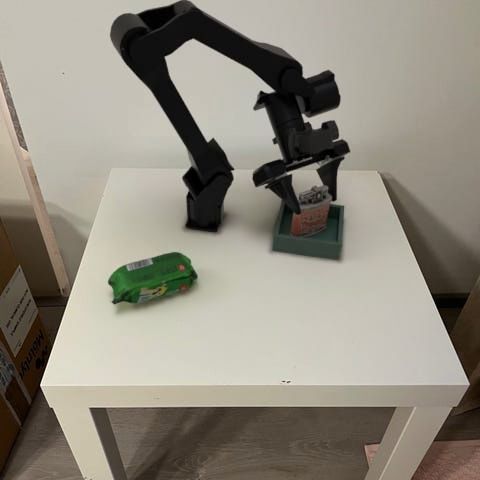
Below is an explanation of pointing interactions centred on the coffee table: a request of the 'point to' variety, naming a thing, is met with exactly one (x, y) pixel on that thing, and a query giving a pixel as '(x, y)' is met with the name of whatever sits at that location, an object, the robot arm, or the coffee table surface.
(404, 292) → the coffee table surface
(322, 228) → the lighter
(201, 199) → the robot arm
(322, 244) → the shallow open tray
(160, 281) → the snack package
